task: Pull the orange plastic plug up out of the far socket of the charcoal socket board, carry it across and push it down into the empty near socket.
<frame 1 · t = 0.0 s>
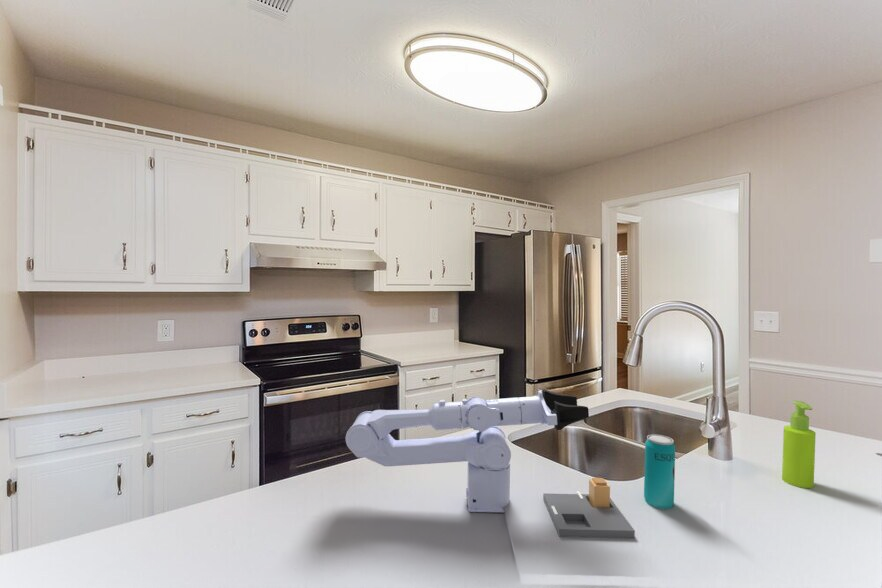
hand: (582, 406, 89), 22 cm above the table, tool horizontal, fingers open, 7 cm apart
orange plug: (598, 508, 87), point 1 cm above the table, touching socket board
soap dispenser: (798, 484, 101), on the table
beverage can: (658, 507, 89), on the table
socket board: (585, 522, 83), on the table
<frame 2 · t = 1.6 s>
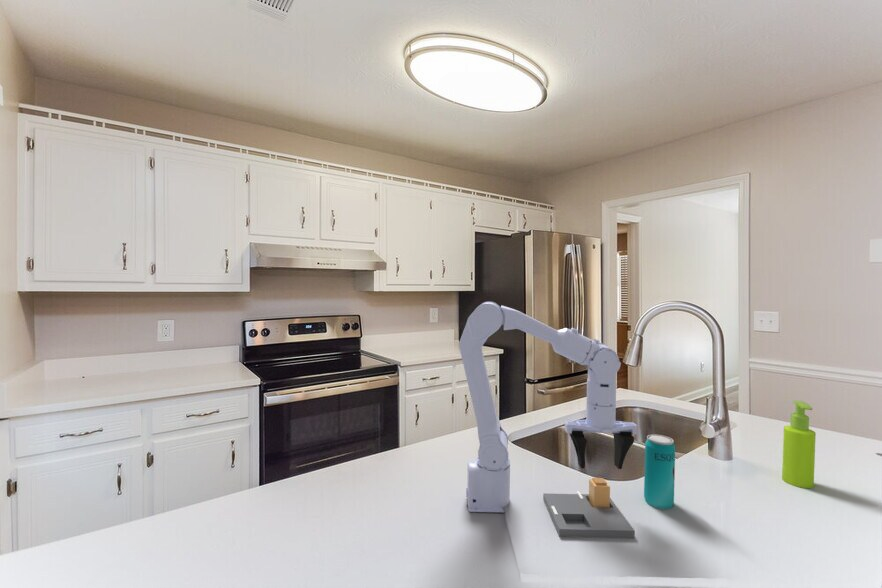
hand: (599, 466, 86), 10 cm above the table, tool pointing down, fingers open, 7 cm apart
nothing on the table moved.
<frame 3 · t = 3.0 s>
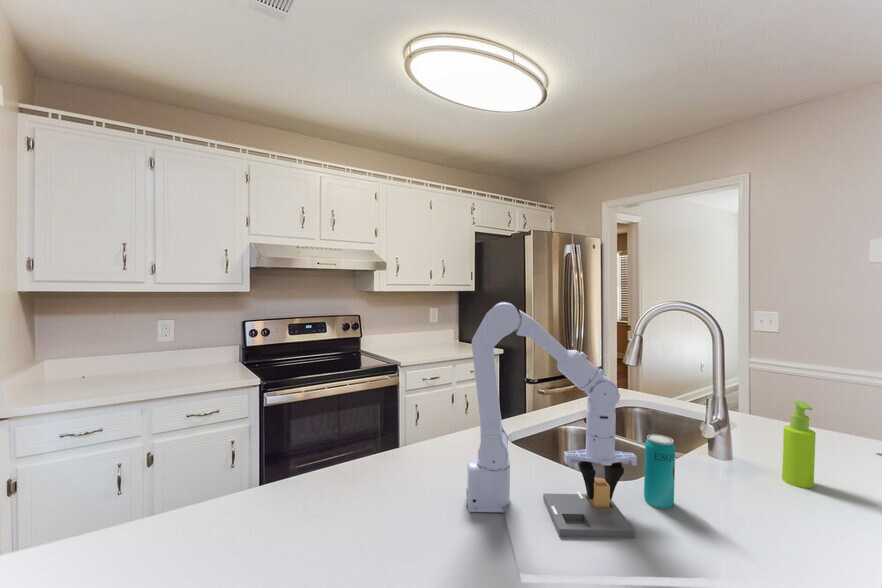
hand: (599, 497, 87), 3 cm above the table, tool pointing down, fingers closed on orange plug, 3 cm apart
orange plug: (598, 508, 87), point 1 cm above the table, touching gripper, socket board
everything else where it was.
when the fingers open (4 cm above the table, at t = 5.9 s): orange plug stays where it is, resting on socket board.
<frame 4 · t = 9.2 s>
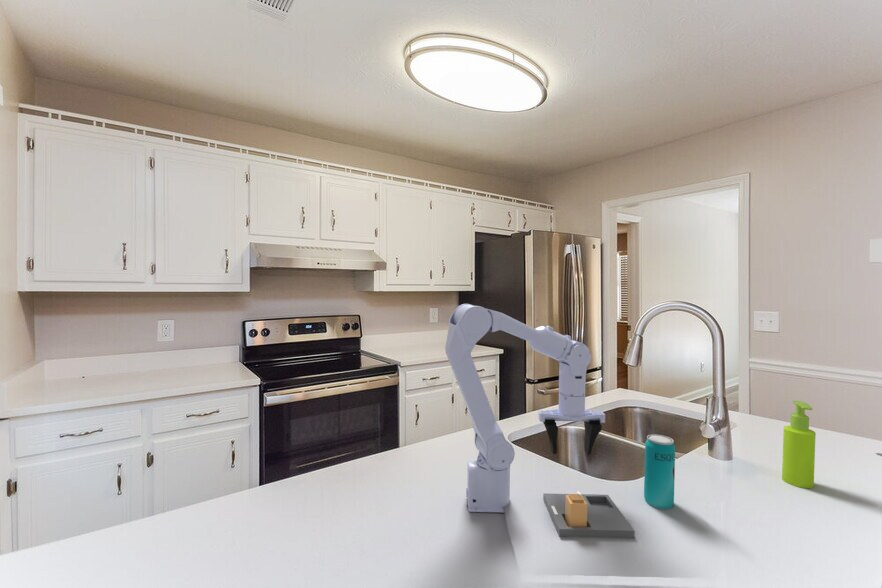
hand: (570, 452, 93), 10 cm above the table, tool pointing down, fingers open, 7 cm apart
orange plug: (575, 527, 80), point 1 cm above the table, touching socket board
everything else where it was.
at the end: orange plug 0.0 cm from the target spot on the socket board, point 1.0 cm above the socket board's base; orange plug tilted 0°; the gripper is holding nothing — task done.
